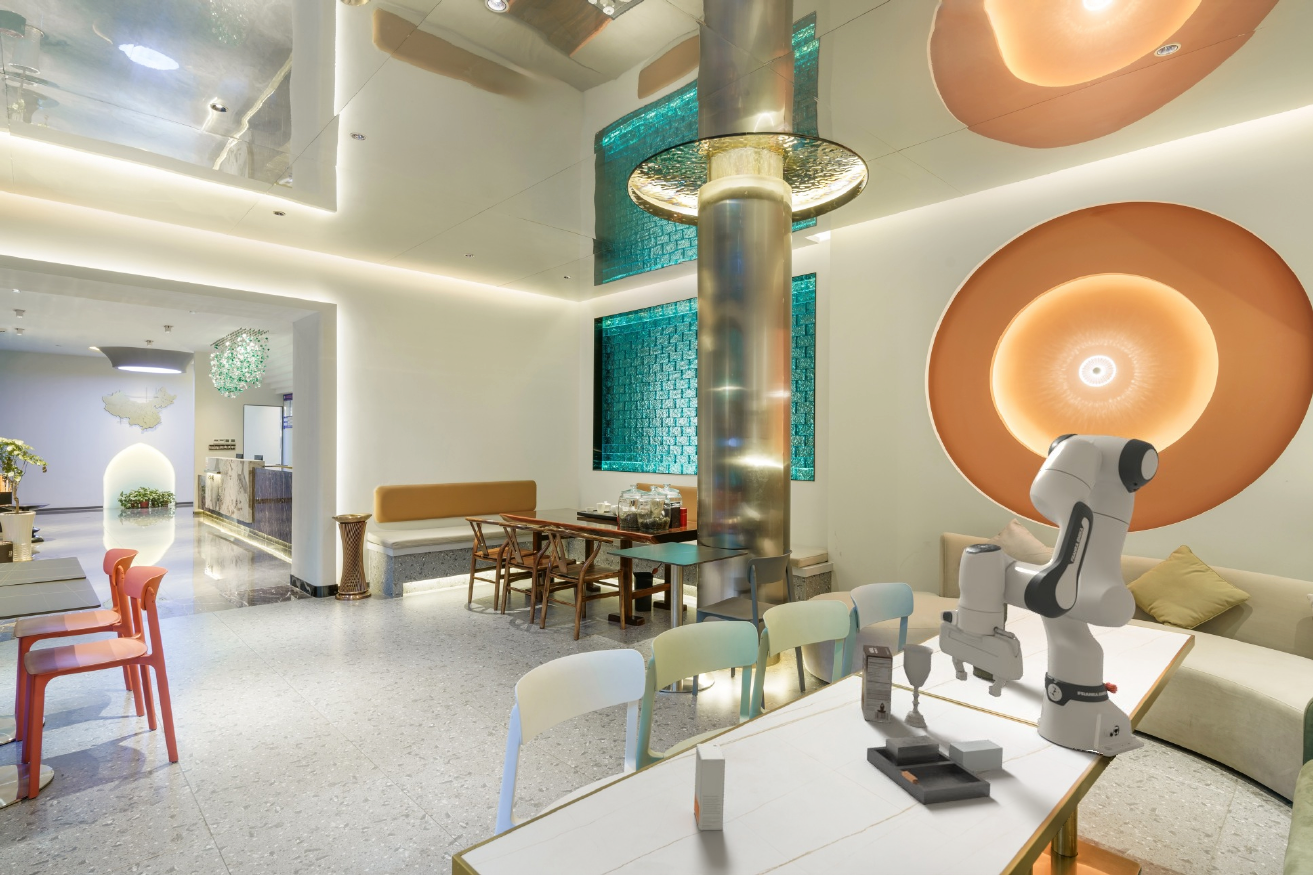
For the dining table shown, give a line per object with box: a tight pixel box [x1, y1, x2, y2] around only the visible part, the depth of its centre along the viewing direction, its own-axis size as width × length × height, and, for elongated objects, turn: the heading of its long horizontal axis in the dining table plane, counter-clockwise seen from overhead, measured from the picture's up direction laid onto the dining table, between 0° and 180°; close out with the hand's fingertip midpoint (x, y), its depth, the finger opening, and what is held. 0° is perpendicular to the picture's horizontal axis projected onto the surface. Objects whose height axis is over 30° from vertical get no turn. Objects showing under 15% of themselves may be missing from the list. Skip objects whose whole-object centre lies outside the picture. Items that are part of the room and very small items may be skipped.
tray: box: [866, 734, 991, 805], centre depth 133 cm, size 15×18×5 cm
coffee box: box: [860, 644, 894, 724], centre depth 164 cm, size 9×6×16 cm
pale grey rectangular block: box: [948, 739, 1004, 773], centre depth 139 cm, size 10×4×4 cm, turn 106°
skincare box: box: [693, 743, 726, 831], centre depth 114 cm, size 6×4×12 cm
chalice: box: [901, 643, 935, 728], centre depth 161 cm, size 7×7×18 cm
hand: (977, 687), depth 139 cm, fingers open, 8 cm apart
